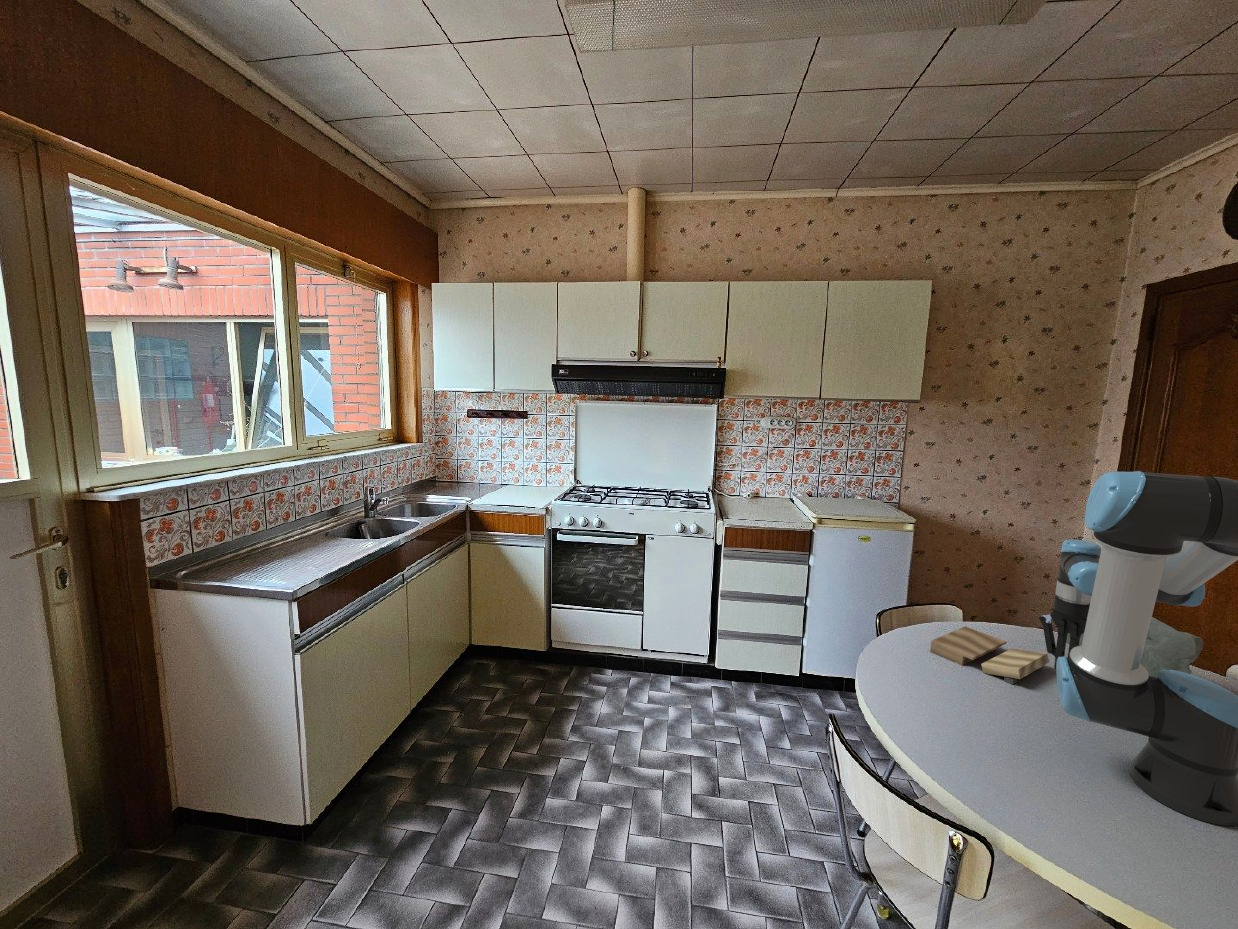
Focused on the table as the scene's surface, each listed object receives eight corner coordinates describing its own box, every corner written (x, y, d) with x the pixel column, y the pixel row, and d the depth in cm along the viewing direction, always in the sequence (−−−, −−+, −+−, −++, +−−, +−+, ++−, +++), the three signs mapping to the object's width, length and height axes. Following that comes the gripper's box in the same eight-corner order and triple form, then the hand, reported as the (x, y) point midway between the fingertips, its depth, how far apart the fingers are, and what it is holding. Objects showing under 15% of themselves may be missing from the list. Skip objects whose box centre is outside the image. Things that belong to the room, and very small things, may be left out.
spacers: (1012, 684, 136) (1013, 679, 136) (1003, 681, 138) (1004, 676, 138) (1040, 668, 145) (1041, 663, 145) (1032, 665, 146) (1033, 660, 146)
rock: (1194, 690, 134) (1206, 620, 132) (1194, 699, 130) (1207, 627, 128) (1063, 652, 154) (1072, 590, 151) (1060, 659, 150) (1068, 595, 147)
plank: (1019, 688, 135) (1021, 670, 134) (980, 671, 143) (982, 655, 142) (1048, 670, 143) (1050, 654, 143) (1010, 656, 151) (1012, 640, 151)
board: (971, 669, 144) (973, 657, 143) (930, 652, 153) (931, 640, 153) (1005, 652, 153) (1006, 641, 153) (964, 637, 163) (965, 626, 163)
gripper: (1112, 605, 127) (1099, 691, 130) (1049, 588, 138) (1038, 667, 141) (1101, 611, 123) (1088, 699, 126) (1037, 593, 134) (1026, 674, 137)
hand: (1062, 682), depth 134 cm, fingers closed
